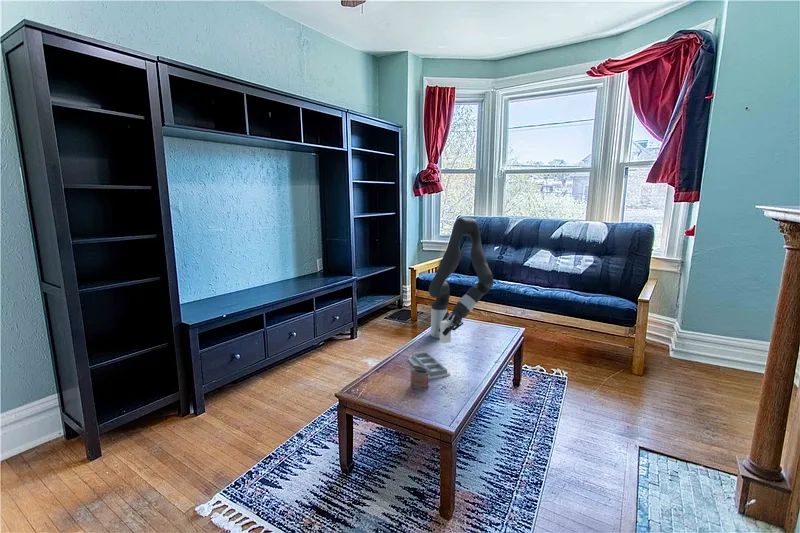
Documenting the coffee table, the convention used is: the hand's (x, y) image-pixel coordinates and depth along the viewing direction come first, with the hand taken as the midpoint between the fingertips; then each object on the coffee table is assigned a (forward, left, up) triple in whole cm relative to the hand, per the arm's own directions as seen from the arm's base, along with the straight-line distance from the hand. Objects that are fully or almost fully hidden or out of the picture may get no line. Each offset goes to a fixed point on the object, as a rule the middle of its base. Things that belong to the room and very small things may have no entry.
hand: (441, 333), depth 186 cm
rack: (-2, -6, -18) cm, 19 cm away
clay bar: (0, +2, -5) cm, 5 cm away
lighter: (+14, -18, -18) cm, 29 cm away
